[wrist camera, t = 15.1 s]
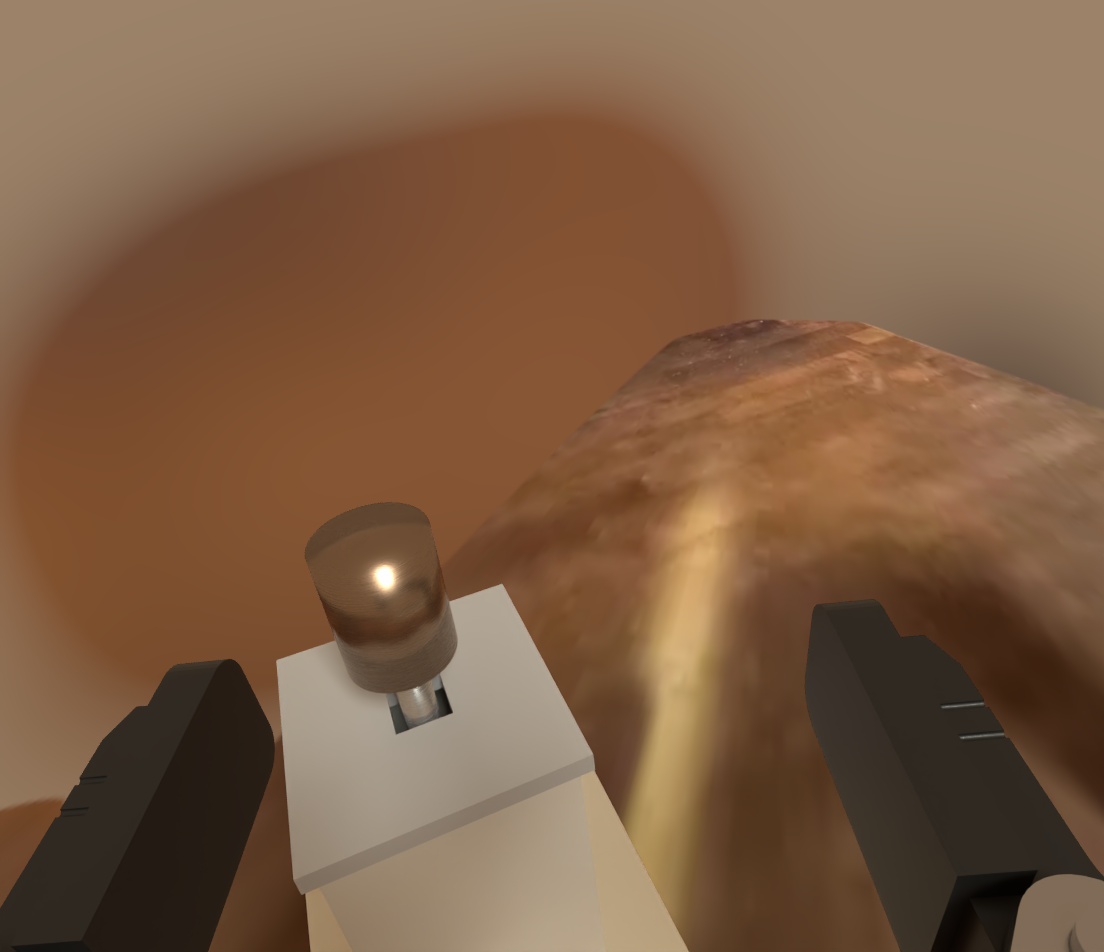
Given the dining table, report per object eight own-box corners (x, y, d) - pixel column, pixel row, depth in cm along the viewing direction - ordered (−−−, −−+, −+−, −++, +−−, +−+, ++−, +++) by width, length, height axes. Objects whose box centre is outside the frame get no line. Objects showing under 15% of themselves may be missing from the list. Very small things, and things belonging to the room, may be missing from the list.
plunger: (519, 781, 45) (449, 456, 32) (574, 916, 37) (512, 565, 25) (380, 839, 42) (247, 514, 30) (411, 995, 35) (252, 652, 23)
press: (574, 741, 54) (544, 524, 43) (723, 1029, 37) (733, 796, 27) (305, 851, 48) (195, 636, 38) (343, 1242, 32) (168, 1057, 22)
